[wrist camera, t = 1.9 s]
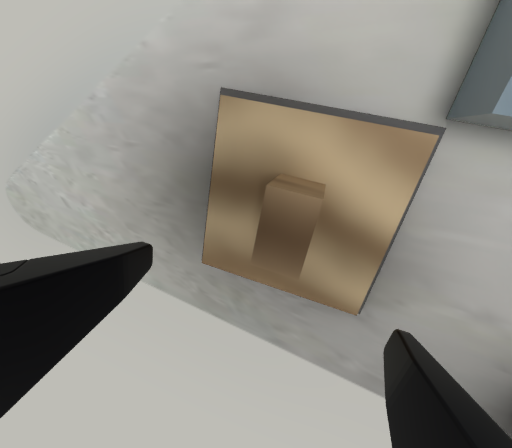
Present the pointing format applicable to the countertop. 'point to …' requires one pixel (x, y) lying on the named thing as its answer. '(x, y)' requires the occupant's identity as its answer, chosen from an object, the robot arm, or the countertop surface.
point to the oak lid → (308, 198)
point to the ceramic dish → (489, 77)
